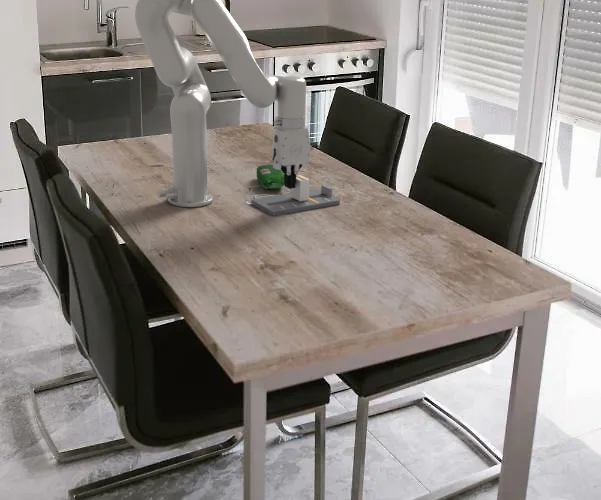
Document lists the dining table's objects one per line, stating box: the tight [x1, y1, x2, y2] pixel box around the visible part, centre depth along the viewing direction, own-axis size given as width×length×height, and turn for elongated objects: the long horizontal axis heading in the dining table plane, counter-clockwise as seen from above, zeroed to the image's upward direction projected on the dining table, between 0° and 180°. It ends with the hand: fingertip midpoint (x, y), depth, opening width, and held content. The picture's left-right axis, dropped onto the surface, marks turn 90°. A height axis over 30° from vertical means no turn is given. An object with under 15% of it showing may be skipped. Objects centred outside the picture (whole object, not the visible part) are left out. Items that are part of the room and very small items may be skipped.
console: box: [250, 184, 341, 217], centre depth 253 cm, size 22×12×4 cm, turn 123°
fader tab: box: [290, 174, 311, 201], centre depth 253 cm, size 3×5×6 cm, turn 33°
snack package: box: [256, 164, 285, 190], centre depth 269 cm, size 7×16×5 cm, turn 13°
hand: (289, 187), depth 251 cm, fingers closed
